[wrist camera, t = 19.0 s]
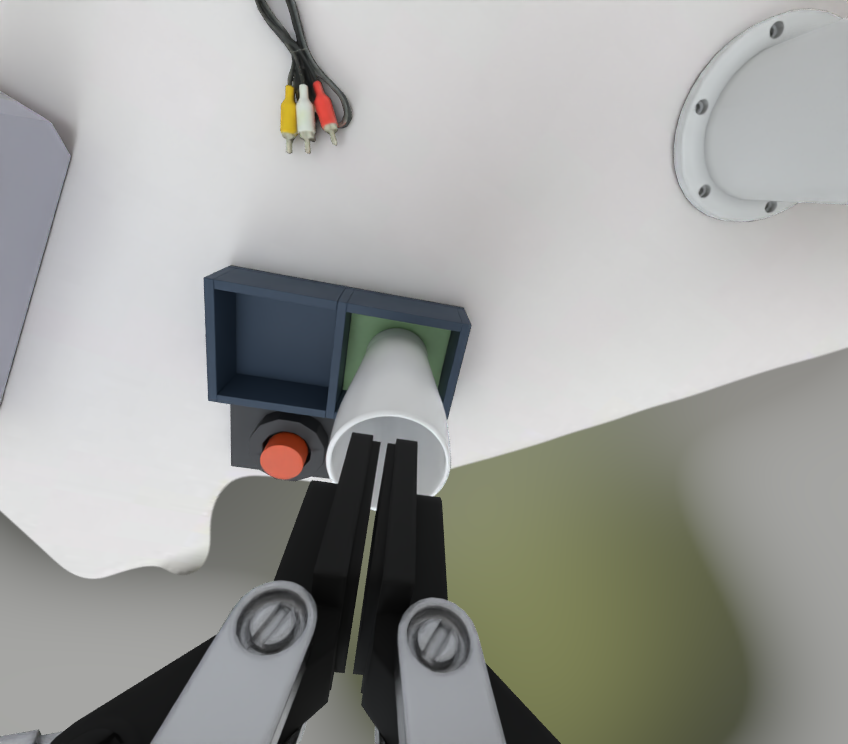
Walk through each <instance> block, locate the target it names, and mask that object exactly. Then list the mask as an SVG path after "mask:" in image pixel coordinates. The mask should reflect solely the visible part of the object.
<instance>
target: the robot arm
mask: <svg viewBox="0 0 848 744" xmlns="http://www.w3.org/2000/svg"><path fill="white" fill-rule="evenodd" d="M695 108H696V111H695ZM674 164H675V171H676V175H677V179H678V182H679V185H680V187H681V189H682V191H683V193H684V194H685V196H686V198H687V199H688V200H689V201H690V202H691V203H692V204H693V206H694V207H695V208H697V209H698V210H700V211H701V212H703V213H704V214H706V215H708V216H711V217H713V218H716V219H719V220H726V221H733V222H750V221H756V220H761V219H766V218H768V217H771V216H773V215H776V214H779V213H781V212H783V211H785V210H787V209H789V208H790V207H792V206H794V205H796V204H797V203H799V202H804V203H825V204H845V205H848V17H846V18H844V19H843V18H841V17H839V16H837V15H835V14H833V13H830V12H828V11H823V10H816V9H801V10H792V11H788V12H785V13H782V14H779V15H776V16H773V17H771V18H768V19H766V20H764V21H762V22H760V23H758V24H756V25H754V26H752V27H750V28H749V29H747V30H746V31H744V32H743V33H741V34H740V35H738V36H737V37H735V38H734V39H733V40H731V41H730V42H729V43H728V44H727V45H726V46H725V47H724V48H723V49H722V50H721V51H719V52H718V53H717V54H716V55H715V57H714V58H713V59H712V60H711V62H710V63H709V64H708V65H707V66H706V68H705V69H704V70H703V71H702V73H701V74H700V76H699V78H698V79H697V81H696V82H695V84H694V86H693V87H692V89H691V91H690V92H689V95H688V97H687V99H686V102H685V104H684V106H683V109H682V111H681V114H680V118H679V121H678V125H677V129H676V134H675V143H674ZM699 190H700V191H699ZM380 444H381V442H378V441H373V435H369V434H362V433H355V432H352V435H351V438H350V442H349V446H348V449H347V453H346V456H345V460H344V464H343V467H342V471H341V475H340V478H339V482H338V484H336V483H328V482H321V481H313V480H312V481H311V482H310V485H309V487H308V490H307V492H306V495H305V498H304V500H303V503H302V506H301V509H300V511H299V514H298V517H297V519H296V522H295V525H294V528H293V530H292V533H291V536H290V538H289V541H288V544H287V546H286V549H285V552H284V555H283V557H282V560H281V563H280V566H279V568H278V571H277V574H276V576H275V579H274V581H273V582H267V583H264V584H262V585H260V586H258V587H255V588H253V589H252V590H251V591H249V592H248V593H247V594H245V595H244V596H243V597H241V599H240V600H239V601H238V603H237V604H236V605H235V606H234V608H233V609H232V610H231V612H230V614H229V615H228V617H227V619H226V620H225V622H224V623H223V625H222V627H221V628H220V630H219V632H218V633H217V635H215V636H214V637H212V638H210V639H209V640H207V641H205V642H204V643H202V644H201V645H199V646H197V647H196V648H194V649H193V650H191V651H189V652H188V653H186V654H184V655H183V656H181V657H180V658H178V659H176V660H175V661H173V662H172V663H170V664H168V665H167V666H165V667H163V668H162V669H160V670H159V671H157V672H155V673H154V674H152V675H151V676H149V677H147V678H146V679H144V680H143V681H141V682H139V683H138V684H136V685H134V686H133V687H131V688H130V689H128V690H126V691H125V692H123V693H122V694H120V695H118V696H117V697H115V698H114V699H112V700H110V701H109V702H107V703H105V704H104V705H102V706H101V707H99V708H97V709H96V710H94V711H93V712H91V713H89V714H88V715H86V716H85V717H83V718H81V719H80V720H78V721H77V722H75V723H74V724H73V725H71V726H70V727H69V728H67V729H66V730H65V731H63V732H58V733H52V734H46V735H41V733H40V731H39V730H33V731H28V732H22V733H17V734H11V735H5V736H0V744H300V742H301V739H302V736H303V733H304V730H305V726H306V721H307V720H308V719H309V718H310V717H312V716H313V715H314V714H315V713H316V712H317V711H318V710H319V709H320V708H322V707H323V706H324V705H325V704H326V703H327V702H328V697H329V691H330V690H331V687H332V681H333V675H334V672H339V673H344V672H345V666H346V659H347V653H348V647H349V641H350V634H351V628H352V622H353V615H354V609H355V602H356V596H357V590H358V584H359V577H360V571H361V564H362V558H363V552H364V546H365V539H366V533H367V526H368V520H369V514H370V508H371V501H372V495H373V489H374V482H375V476H376V470H377V463H378V457H379V451H380ZM417 452H418V442H417V441H411V440H404V439H396V444H392V443H388V444H387V449H386V455H385V461H384V467H383V473H382V479H381V485H380V491H379V497H378V503H377V509H376V515H375V521H374V528H373V535H372V542H371V549H370V556H369V563H368V571H367V578H366V585H365V592H364V599H363V606H362V613H361V620H360V628H359V635H358V642H357V649H356V656H355V663H354V670H353V674H361V675H363V680H362V688H361V693H363V696H362V704H361V705H362V707H363V708H364V710H365V711H366V713H367V714H368V716H369V717H370V719H371V720H372V722H373V723H374V725H375V726H376V727H375V744H561V743H560V742H559V741H558V740H557V739H556V738H555V737H554V736H553V735H552V734H551V732H550V731H549V730H548V729H547V728H546V727H545V726H544V725H543V724H542V723H541V722H540V721H539V720H538V719H537V718H536V716H535V715H534V714H532V712H531V711H530V710H529V709H528V708H527V707H526V706H525V705H524V704H523V703H522V702H521V700H520V699H519V698H518V697H517V696H516V695H515V694H514V693H513V692H512V691H511V690H510V689H509V688H508V687H507V685H506V684H505V683H504V682H503V681H502V680H501V679H500V678H499V677H498V676H497V675H496V674H495V673H494V672H493V671H492V669H491V668H490V667H489V666H488V665H487V664H486V663H485V660H484V656H483V652H482V649H481V645H480V641H479V637H478V634H477V631H476V629H475V626H474V624H473V622H472V620H471V619H470V618H469V616H468V615H467V614H466V612H465V611H463V610H462V609H461V608H460V607H458V606H457V605H456V604H455V603H452V602H450V601H448V599H447V598H448V597H447V581H446V565H445V564H446V563H445V548H444V547H445V546H444V530H443V512H442V501H441V498H440V497H434V496H426V495H419V494H417Z"/></svg>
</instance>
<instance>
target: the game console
mask: <svg viewBox="0 0 848 744" xmlns="http://www.w3.org/2000/svg"><path fill="white" fill-rule="evenodd" d="M70 158H71V155H70V154H69V152H68V150H67V148H66V147H65V145H64V143H63V142H62V140H61V138H60V136H59V135H58V133H57V131H56V129H55V128H54V126H53V124H52V123H51V122H50V121H49V120H47V119H45V118H44V117H42V116H41V115H39V114H37V113H36V112H34V111H32V110H31V109H29V108H27V107H26V106H24V105H23V104H21V103H19V102H18V101H16V100H14V99H13V98H11V97H9V96H8V95H6V94H5V93H3V92H1V91H0V404H1V400H2V396H3V393H4V389H5V386H6V382H7V379H8V375H9V372H10V368H11V365H12V361H13V358H14V354H15V351H16V347H17V344H18V340H19V337H20V333H21V330H22V326H23V323H24V319H25V316H26V312H27V309H28V305H29V302H30V298H31V295H32V291H33V288H34V284H35V281H36V277H37V274H38V270H39V267H40V263H41V260H42V256H43V253H44V249H45V246H46V242H47V239H48V235H49V232H50V228H51V225H52V221H53V218H54V214H55V211H56V207H57V204H58V200H59V197H60V193H61V190H62V186H63V183H64V179H65V176H66V172H67V169H68V165H69V162H70Z"/></svg>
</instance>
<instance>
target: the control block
mask: <svg viewBox="0 0 848 744" xmlns="http://www.w3.org/2000/svg"><path fill="white" fill-rule="evenodd" d="M334 421H335V419H330V418H326V417H325V418H323V417H316V416H309V415H302V414H295V413H288V412H281V411H274V410H267V409H261V408H254V407H247V406H240V405H233V404H231V466H235V467H243V468H251V469H259V470H261V471H263V472H265V471H264V469H263V468H262V466H261V463H260V457H261V454H262V452H263V450H264V448H265V447H266V445H267V443H268V441H269V440H270V438H271V437H272V436H274V435H276V434H278V433H282V432H289V433H293V434H296V435H298V436H300V437H301V438H302V439H303V440H304V441H305V442H306V444H307V446H308V456H307V458H306V461H305V464H304V466H303V469H302V471H301V472H300V473H299V474H298V475H297V476H295V477H293V478H290V479H281V480H289V481H298V480H301V479H304V478H307V477H311V476H313V477H321V478H329V479H330V477H329V475H328V472H327V467H326V453H327V449H328V444H329V440H330V435H331V431H332V428H333V424H334ZM265 473H266V472H265ZM266 474H267V473H266ZM268 475H269V474H268ZM271 477H272V476H271ZM273 478H275V477H273ZM276 479H278V478H276Z"/></svg>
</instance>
